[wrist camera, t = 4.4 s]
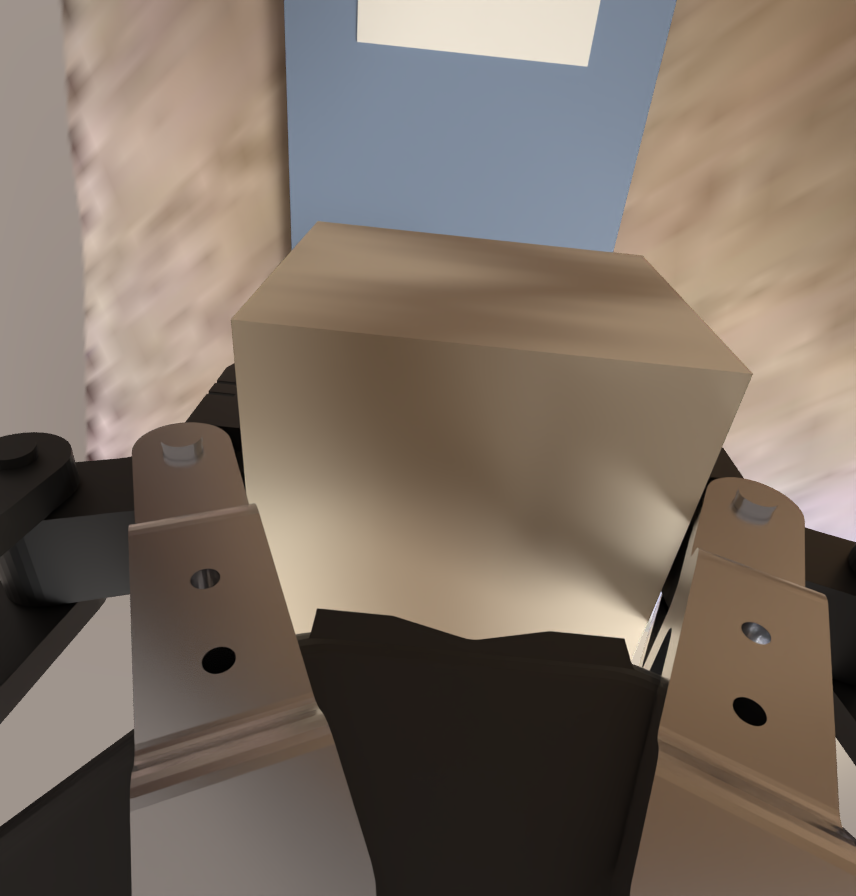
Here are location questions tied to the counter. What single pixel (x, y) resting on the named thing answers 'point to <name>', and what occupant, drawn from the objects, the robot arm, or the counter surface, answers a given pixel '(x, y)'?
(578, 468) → the maple block
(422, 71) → the board
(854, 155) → the counter surface
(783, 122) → the counter surface
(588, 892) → the robot arm
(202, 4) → the counter surface
